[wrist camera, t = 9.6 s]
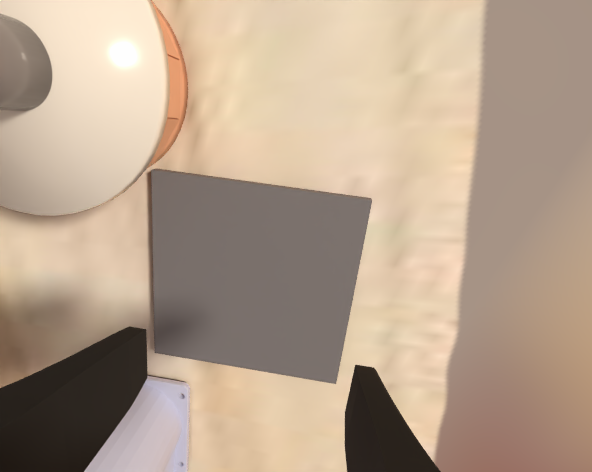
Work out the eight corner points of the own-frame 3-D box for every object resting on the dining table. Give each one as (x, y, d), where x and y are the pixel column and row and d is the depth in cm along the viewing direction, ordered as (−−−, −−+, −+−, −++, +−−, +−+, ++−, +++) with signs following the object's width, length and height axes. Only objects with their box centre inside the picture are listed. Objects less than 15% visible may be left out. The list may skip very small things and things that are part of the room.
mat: (335, 377, 23) (335, 384, 23) (158, 347, 24) (154, 352, 24) (370, 198, 19) (372, 200, 19) (156, 168, 20) (151, 169, 20)
